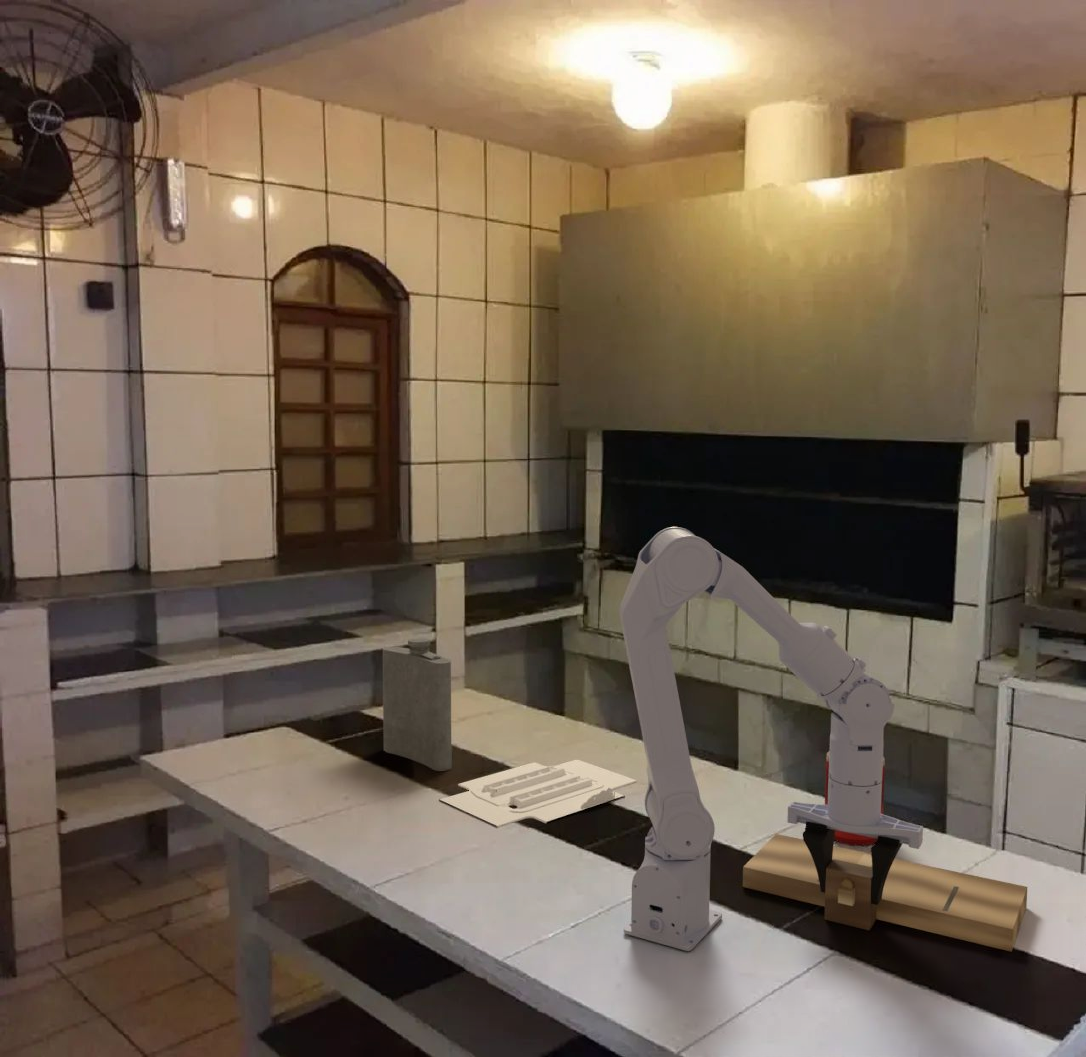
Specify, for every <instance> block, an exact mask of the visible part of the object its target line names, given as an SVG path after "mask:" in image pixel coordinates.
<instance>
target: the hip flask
mask: <svg viewBox="0 0 1086 1057" xmlns="http://www.w3.org/2000/svg"><path fill="white" fill-rule="evenodd" d="M407 645H408V646H409V647H400V646H386V647H383V648H382V649H381V650H382V709H383V710H382V712H383V715H382V716H383V718H382V719H383V720H382V721H383V722H382V723H383V726H382V727H383V731H382V732H383V752H384V751H385V753H387V754H392V755H395V756H399V757H401V758H406V759H409V760H411V761H414V762H416V763H420V764H422V765H424V766H426V767H428V768H429V769H431V770H433V771H436V772H445V771H446V772H447V771H449V770H451V769H452V660H451V659H449V658H446V657H444V656H441V655H438V654H437V653H434V652H432V651H430V647H429V646H431V639H430V638H427V637H413V638H409V639H407Z"/></svg>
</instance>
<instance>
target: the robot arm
mask: <svg viewBox="0 0 1086 1057" xmlns="http://www.w3.org/2000/svg"><path fill="white" fill-rule="evenodd" d="M704 592H705V593H706V594H708V596H710V597H712V598H717V599H718V598H719V599H723V600H724V599H725V600H726V599H727V600H730V601H731V602H732V603H734V604H735V605H736V606H737V607H738V608H739V609H740V610H741V611H742V612H743V613H745V614H746V616H748V617H749V618H750V619H752V620H753V621H754V622H755V623H756V624H757V625H758V626H759V627H760V628H761V629H763V630H764V631H765V632H767V634H769V635H770V636H771V637H772V638H773V639H774V640H775V641H776V642H777V643H778V657H779V661H780V662H781V663H782V664H783V665H784V666H785V667H786V668H787V669H788V670H789V671H791V672H792V673H793V675H795V676H796V678H798V679H799V680H800V681H801V682H803V684H804V685H806V687H808V688H809V689H810V690H811V691H812V692H813V693H814V694H815V695H816V696H817V697H819V699H821V700H823V701H824V704H825V705H826V707H827V708H828V709H831V710H832V711H833V712H831V713H830V714H831V715H830V735H829V750H828V752H829V779H828V805H825V804H821V803H807V802H806V803H805V802H801V801H799V802H798V801H792V802H791V803H790V804H789V805H788V806H787V823H788V824H793V825H797V824H799V823H800V824H805V828H804V831H803V832H802V839H803V840H804V842H805V844H806V846H807V847H808V849H809V851H810V854H811V856H812V858H813V861H814V864H815V867H816V870H817V874H818V878H819V883H820V889H821V892H823V893H825V887H826V868H827V867H828V865H829V864H830V863H831V862H832V855H833V846H834V842H835V840H834V836H835V830H838V831H843V832H848V833H853V834H858V835H863V836H868V837H873V838H878V839H877V841H876V842H875V843H873V844H872V845H871V847H870V854H871V856H872V874H873V877H872V888H871V904H875V905H878V904H879V902H880V900H881V899H882V893H883V888H884V884H885V881H886V878H887V875H888V872H889V870H890V867H891V865H892V863H893V861H894V859H896V857H897V854H898V853H899V851H900V849H901V847H902V846H903V844H904V845H908V847H909V848H911V849H912V848H913V849H916V850H917V849H918V850H919V849H920V848H921V846H922V844H923V837H924V836H923V835H924V833H923V832H924V826H923V825H918V824H914V823H911V822H907V821H904V820H900V819H897V818H895V817H892V816H889V815H886V814H884V813H883V814H881V794H882V770H883V757H884V745H885V744H884V728H885V726H886V724H887V723H888V722H889V721H890V720H891V718H892V716H893V714H894V711H895V703H893V702H892V698H891V697H892V696H890V691H889V689H888V687H887V686H885V684H884V683H883V682H881V681H880V680H878V679H877V678H875V677H874V676H872V674H870V673H868V672H867V671H866V669H865V668H866V666H867V664H866V663H865V662H864V660H863V659H861V657H859V656H856V657H855V658H854V657H853V656H852V655H851V653H849V652H848V651H847V650H846V649H845V648H844V647H842V646H841V644H840V643H838V641H837V640H836V639H835V638H836V637H837V633H836V632H835V631H834V630H833V629H832V628H830V627H829V626H828V625H824V626H823V627H821V625H819V624H818V623H817V622H799V621H797V619H795V617H793V616H792V615H791V614H790V612H788V611H787V609H786V608H784V606H783V605H781V603H779V602H778V601H777V599H776V598H774V597H773V596H772V594H770V593H769V592H768V591H767V590H766V589H765V587H763V586H762V584H761V583H759V582H758V580H756V579H755V577H754V576H752V575H751V574H750V573H749V571H747V570H746V568H744V567H743V566H742V565H740V564H739V563H738V562H736V561H735V560H733V559H732V558H730V557H729V556H727V555H725V554H724V553H722V552H721V551H720V550H717V549H716V548H714V546H712V544H711V543H709V541H707V540H706V539H704V538H702V537H700V536H696V535H695V534H694V532H692V531H690V530H689V529H687V528H683V527H678V526H671V527H666V528H664V529H662V530H660V531H658V532H657V533H656V534H654V536H653V537H652V538H650V540H649V541H648V542H647V543H646V544H645V545H644V546H643V547H642V548H641V550H640V551H639V553H638V555H637V560H636V564H635V567H634V570H633V572H632V575H631V576H630V581H629V582H628V585H627V588H626V590H625V593H624V595H623V598H622V600H621V603H620V605H619V618H620V623H621V629H622V634H623V640H624V645H625V649H626V650H625V652H626V656H627V661H628V665H629V666H628V667H629V672H630V678H631V682H632V687H633V692H634V698H635V704H636V709H637V715H638V720H639V725H640V730H641V736H642V742H643V747H644V751H645V757H646V758H645V759H646V762H647V763H646V765H647V766H646V774H647V780H648V781H647V783H648V786H647V789H646V792H645V795H644V809H645V812H646V814H647V816H648V819H649V820H650V821H651V824H652V826H651V827H650V829H649V831H648V832H647V836H645V840H644V845H645V846H644V857H643V861H642V863H641V865H640V867H639V868H638V869H637V870H636V872H635V873H634V875H633V878H632V882H631V913H630V914H631V917H630V918H631V921H630V922H629V923H628V924H627V925H626V926H625V927H624V928H623V933H624V934H626V935H628V936H633V937H635V938H640V939H643V940H646V941H650V942H653V943H656V944H659V945H660V944H661V945H664V946H669V947H670V948H674V949H678V950H682V951H685V952H690V951H692V950H693V949H694V948H695V947H696V946H697V945H698V944H699V943H700V942H701V941H702V939H703V938H704V937H705V936H706V935H707V934H708V933H709V932H710V931H711V930H712V929H713V927H715V925H717V924H718V922H719V921H720V920H721V919H722V918H723V914H722V912H721V911H716V910H712V909H710V896H711V895H710V890H711V889H710V887H711V884H710V883H711V848H712V847H711V845H712V842H713V840H714V837H715V829H716V828H715V823H714V819H713V817H712V815H711V813H710V811H708V809H707V808H706V807H705V805H704V803H703V802H702V799H701V795H700V790H699V786H698V782H697V779H696V775H695V773H694V770H693V766H692V762H691V756H690V751H689V745H688V740H687V735H686V729H685V724H684V718H683V717H684V716H683V712H682V707H681V701H680V696H679V692H678V691H679V690H678V685H677V680H676V675H675V669H674V663H673V659H672V652H671V647H670V643H669V642H670V641H669V636H668V631H667V626H668V623H670V621H671V620H672V618H674V616H675V615H676V613H677V612H678V611H679V609H681V608H682V606H683V605H684V604H686V603H688V602H689V601H691V600H692V599H693V600H694V598H696V597H697V596H699V595H701V594H703V593H704Z"/></svg>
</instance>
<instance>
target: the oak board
mask: <svg viewBox="0 0 1086 1057" xmlns="http://www.w3.org/2000/svg"><path fill="white" fill-rule="evenodd" d="M864 854H865V855H870V856H871V852H870V853H869V852H865V851H860V850H859V851H858V850H855V849H849V848H845V847H840V846H835V845H833V855H832V860H833V859H836V860H841V861H846V862H850V863H855V864H857V863H858V861H859V860H860V859H861V857H862V856H863V855H864ZM742 887H743V888H747V889H751V890H754V891H758V892H759V891H760V892H762V893H766V894H767V893H768V894H771V895H774V896H775V895H776V896H779V897H783V898H788V899H792V900H795V901H799V902H804V903H809V904H812V905H817V906H821V907H824V908H825V893H823V892H821V889H820V883H819V878H818V874H817V870H816V867H815V864H814V861H813V858H812V856H811V854H810V851H809V849H808V847H807V846H806V844H805V842H804V840H803V838H797V837H793V836H787V835H785V834H779V833H775V834H774V835H773V836H772V837H771V838H770V839H769V840H768V841H767V842H766V843H765V844H764V845H763V846H762V847H761V849H760V850H758V851H757V852H756V853H755V854H754V855H753V856H752V858H750V859H749V861H747V862H746V864H744V865H743V867H742ZM1027 902H1028V886H1025V885H1021V884H1016V883H1010V882H1008V881H1007V882H1006V881H1002V880H997V879H992V878H987V877H983V876H978V875H974V874H968V873H963V872H961V871H960V872H958V871H954V870H950V869H944V868H940V867H935V866H931V865H926V864H921V863H916V862H911V861H907V860H902V859H897V858H895V859H894V861H893V863H892V865H891V867H890V870H889V872H888V875H887V878H886V881H885V884H884V888H883V893H882V899H881V900H880V902H879V904H878V905H877V909H876V920H879V921H882V922H883V921H884V922H887V923H891V924H895V925H899V926H903V927H908V928H912V929H916V930H920V931H925V932H928V933H931V934H932V933H933V934H938V935H940V936H945V937H949V938H953V939H958V940H961V941H965V942H970V943H974V944H978V945H981V946H982V945H983V946H986V947H991V948H994V949H999V950H1004V951H1007V952H1013V949H1014V946H1015V943H1016V941H1017V937H1018V934H1019V930H1020V928H1021V926H1022V921H1023V919H1024V915H1025V913H1026V910H1027Z"/></svg>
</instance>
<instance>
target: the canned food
mask: <svg viewBox="0 0 1086 1057" xmlns="http://www.w3.org/2000/svg"><path fill="white" fill-rule="evenodd" d="M885 761H886V760H885V757H884V756H883V770H882V794H881V814H883V815H884V802H885V801H884V798H885V796H884V795H885V779H886V778H885V777H886V776H885V775H886V773H885V772H886V762H885ZM824 778H825V779H824V805H828V779H829V751H828V752H826V757H825V777H824ZM877 839H878V838H873V837H868V836H863V835H858V834H853V833H848V832H843V831H838V830H835V836H834V842H838V843H840V844H844V845H845V844H846V845H849V846H869V845H873V844H874V843H875V842H876V841H877Z"/></svg>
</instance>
